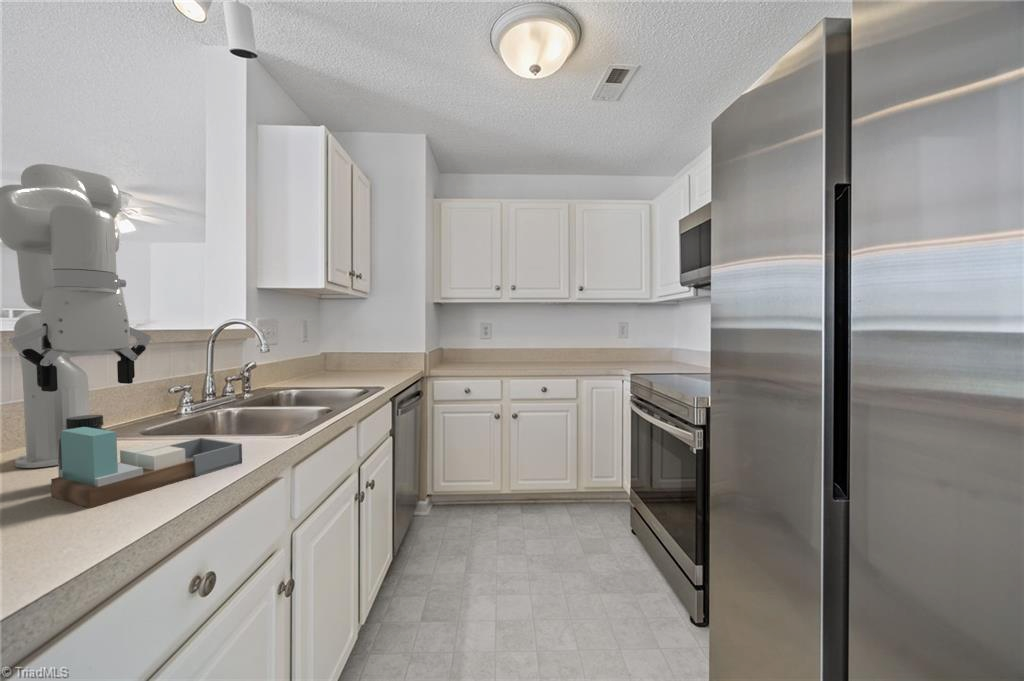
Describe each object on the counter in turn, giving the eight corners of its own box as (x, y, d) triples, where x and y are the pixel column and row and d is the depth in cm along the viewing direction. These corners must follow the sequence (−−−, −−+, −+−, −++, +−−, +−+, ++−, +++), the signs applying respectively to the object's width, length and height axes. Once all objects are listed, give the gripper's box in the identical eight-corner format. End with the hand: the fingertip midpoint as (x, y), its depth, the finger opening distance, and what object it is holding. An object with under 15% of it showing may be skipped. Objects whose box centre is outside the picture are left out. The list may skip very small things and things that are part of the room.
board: (51, 496, 71) (51, 479, 71) (156, 468, 85) (155, 454, 84) (90, 508, 66) (89, 489, 66) (194, 476, 80) (193, 460, 80)
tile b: (137, 467, 77) (137, 453, 76) (169, 459, 81) (168, 446, 81) (154, 470, 75) (153, 456, 75) (185, 462, 79) (185, 448, 79)
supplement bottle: (78, 489, 74) (75, 421, 73) (48, 487, 75) (45, 420, 75) (121, 476, 80) (119, 413, 80) (93, 474, 82) (91, 412, 82)
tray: (154, 468, 85) (154, 448, 85) (202, 455, 93) (201, 437, 93) (195, 476, 80) (195, 455, 80) (242, 462, 88) (241, 443, 88)
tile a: (120, 463, 79) (119, 450, 79) (151, 455, 83) (151, 443, 83) (135, 466, 77) (135, 452, 77) (167, 458, 81) (166, 445, 81)
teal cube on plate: (59, 477, 72) (57, 430, 71) (104, 466, 77) (103, 422, 77) (98, 486, 67) (96, 436, 67) (143, 474, 72) (141, 428, 72)
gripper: (135, 288, 79) (138, 379, 80) (-4, 279, 63) (1, 393, 64) (159, 287, 76) (163, 381, 77) (20, 276, 60) (25, 396, 61)
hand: (89, 386), depth 70 cm, fingers open, 9 cm apart
